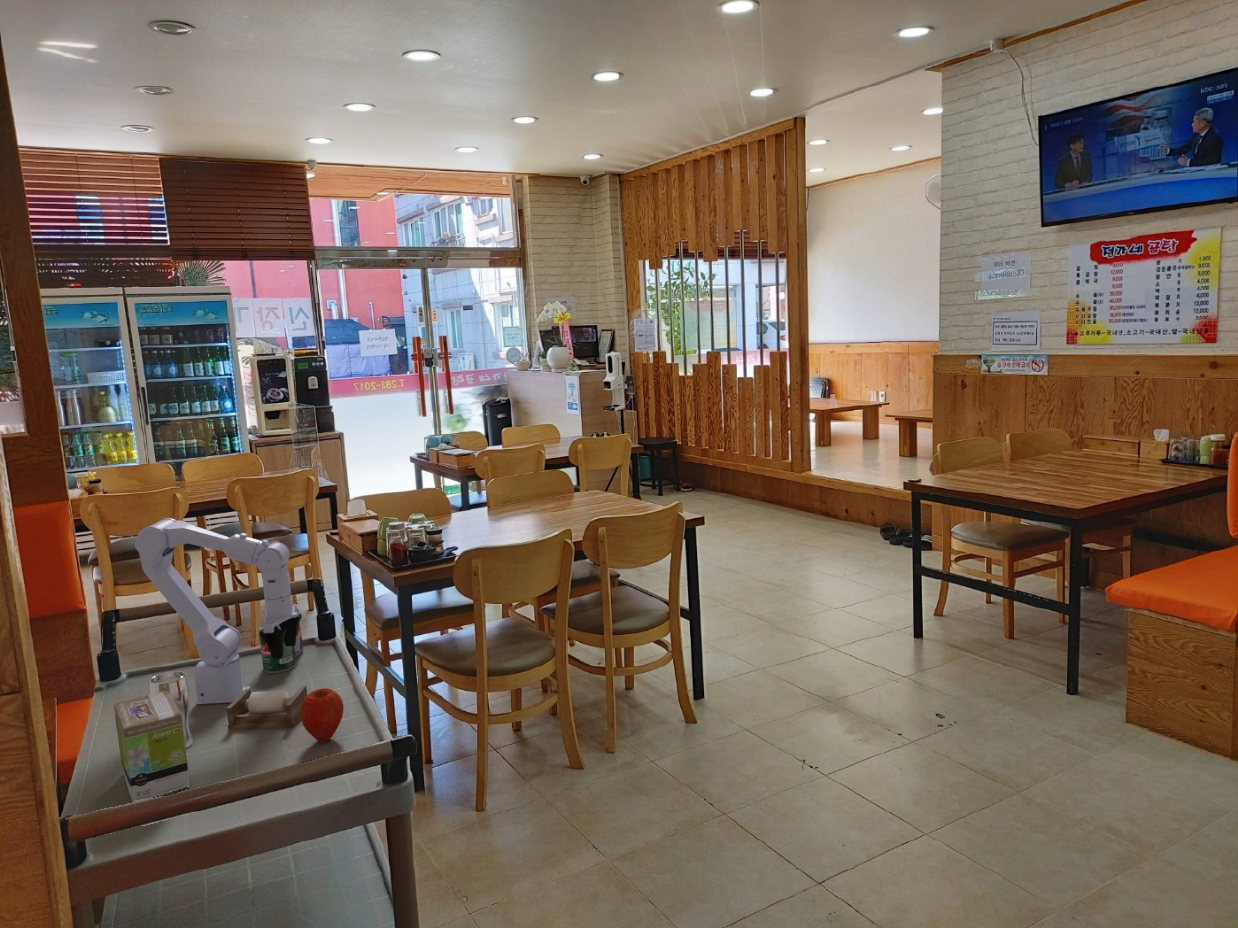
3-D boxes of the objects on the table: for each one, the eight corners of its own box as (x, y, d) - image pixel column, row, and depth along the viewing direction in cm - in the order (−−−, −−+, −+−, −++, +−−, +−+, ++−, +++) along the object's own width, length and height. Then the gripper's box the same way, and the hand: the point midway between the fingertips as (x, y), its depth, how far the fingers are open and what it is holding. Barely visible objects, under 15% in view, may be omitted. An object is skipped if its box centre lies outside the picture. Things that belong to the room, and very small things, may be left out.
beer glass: (203, 739, 183) (193, 671, 181) (176, 755, 177) (166, 685, 174) (177, 736, 186) (167, 668, 183) (150, 751, 179) (139, 682, 177)
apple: (350, 743, 178) (345, 692, 177) (307, 754, 174) (301, 703, 173) (342, 727, 186) (337, 678, 184) (300, 737, 182) (294, 688, 180)
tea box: (192, 787, 164) (182, 712, 162) (132, 806, 158) (120, 729, 156) (178, 757, 176) (169, 687, 174) (122, 773, 171) (111, 702, 168)
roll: (244, 720, 190) (241, 699, 188) (253, 708, 194) (250, 688, 193) (288, 718, 190) (285, 697, 188) (296, 706, 194) (293, 685, 193)
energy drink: (299, 656, 228) (293, 612, 226) (278, 657, 228) (273, 613, 226) (306, 649, 233) (301, 605, 231) (286, 650, 233) (281, 606, 231)
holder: (228, 730, 187) (225, 708, 186) (247, 709, 197) (244, 688, 196) (293, 726, 187) (291, 704, 186) (309, 706, 197) (307, 685, 196)
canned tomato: (256, 672, 219) (251, 630, 217) (275, 660, 226) (270, 619, 225) (284, 673, 217) (279, 631, 215) (302, 661, 224) (298, 620, 223)
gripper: (282, 604, 195) (289, 663, 197) (306, 585, 209) (312, 639, 211) (251, 606, 195) (258, 664, 197) (277, 586, 209) (283, 641, 211)
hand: (284, 651), depth 204 cm, fingers open, 7 cm apart
